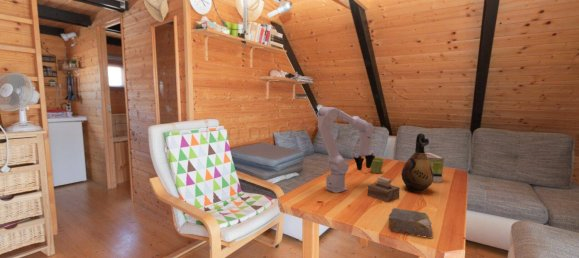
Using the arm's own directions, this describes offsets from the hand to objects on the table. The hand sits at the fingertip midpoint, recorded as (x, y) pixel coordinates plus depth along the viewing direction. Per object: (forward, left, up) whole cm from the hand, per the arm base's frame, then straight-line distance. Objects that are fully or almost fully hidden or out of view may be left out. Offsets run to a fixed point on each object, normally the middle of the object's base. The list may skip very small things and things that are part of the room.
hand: (363, 168), depth 150 cm
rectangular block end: (-5, -16, -7) cm, 18 cm away
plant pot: (+29, +12, -10) cm, 33 cm away
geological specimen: (-26, -41, -10) cm, 49 cm away
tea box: (+44, -14, -10) cm, 47 cm away
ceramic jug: (+19, -20, -10) cm, 29 cm away
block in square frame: (-5, -16, -9) cm, 19 cm away
